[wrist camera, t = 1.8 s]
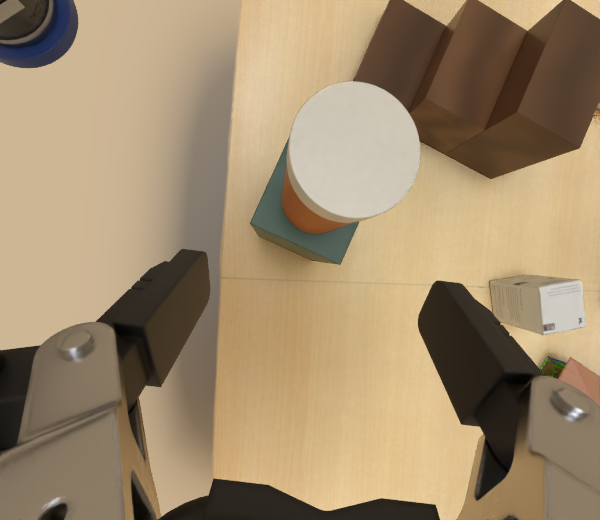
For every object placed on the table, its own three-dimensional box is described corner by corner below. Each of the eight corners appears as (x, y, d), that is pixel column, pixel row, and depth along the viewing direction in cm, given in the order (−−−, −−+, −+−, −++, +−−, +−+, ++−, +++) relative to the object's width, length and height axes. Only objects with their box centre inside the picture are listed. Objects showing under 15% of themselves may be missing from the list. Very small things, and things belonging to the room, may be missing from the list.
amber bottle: (268, 216, 21) (266, 181, 11) (298, 150, 21) (323, 55, 11) (333, 247, 21) (388, 240, 11) (362, 182, 21) (441, 120, 11)
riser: (344, 100, 35) (377, 31, 24) (382, 15, 36) (431, -91, 25) (490, 179, 38) (580, 148, 27) (525, 98, 38) (627, 36, 27)
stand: (258, 236, 34) (249, 223, 20) (283, 181, 35) (291, 131, 21) (313, 260, 35) (340, 265, 21) (336, 207, 35) (379, 176, 22)
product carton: (524, 273, 39) (583, 278, 31) (529, 313, 39) (589, 327, 32) (487, 280, 38) (539, 286, 31) (492, 321, 38) (545, 337, 31)
